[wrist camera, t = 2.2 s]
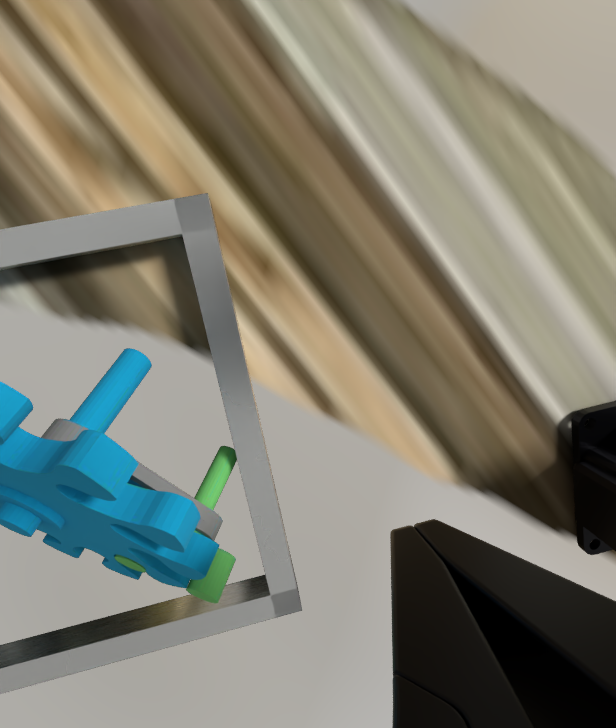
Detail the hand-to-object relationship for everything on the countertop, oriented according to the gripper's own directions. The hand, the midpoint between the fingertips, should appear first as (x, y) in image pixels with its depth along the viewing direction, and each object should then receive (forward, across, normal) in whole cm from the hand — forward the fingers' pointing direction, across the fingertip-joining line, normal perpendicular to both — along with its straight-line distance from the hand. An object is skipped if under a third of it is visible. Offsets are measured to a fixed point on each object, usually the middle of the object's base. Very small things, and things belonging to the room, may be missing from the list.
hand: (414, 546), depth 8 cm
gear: (+9, +8, 0) cm, 12 cm away
